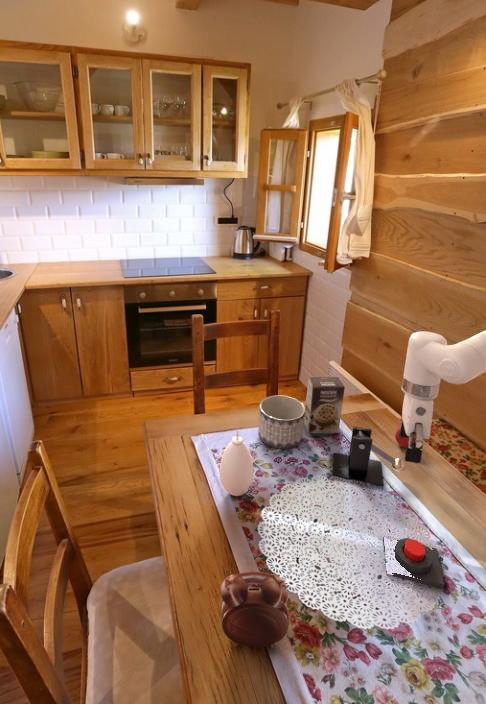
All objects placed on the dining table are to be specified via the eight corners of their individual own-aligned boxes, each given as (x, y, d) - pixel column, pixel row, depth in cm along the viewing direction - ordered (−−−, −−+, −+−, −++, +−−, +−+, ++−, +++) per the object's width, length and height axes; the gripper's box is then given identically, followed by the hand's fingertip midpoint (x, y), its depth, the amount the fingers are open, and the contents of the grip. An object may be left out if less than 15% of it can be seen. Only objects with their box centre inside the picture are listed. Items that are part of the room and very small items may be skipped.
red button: (422, 548, 81) (423, 541, 80) (425, 564, 77) (426, 557, 77) (402, 543, 82) (404, 537, 81) (404, 559, 78) (406, 552, 78)
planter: (292, 458, 109) (295, 425, 106) (250, 442, 115) (251, 411, 112) (308, 433, 119) (311, 403, 116) (269, 420, 126) (271, 391, 122)
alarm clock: (283, 623, 70) (289, 560, 64) (287, 654, 65) (293, 589, 60) (220, 620, 70) (221, 557, 65) (219, 651, 66) (220, 586, 60)
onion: (420, 451, 112) (425, 427, 109) (404, 456, 110) (409, 432, 107) (404, 439, 117) (409, 415, 114) (388, 443, 115) (393, 420, 112)
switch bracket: (380, 464, 107) (386, 427, 103) (382, 489, 99) (390, 449, 95) (333, 456, 110) (337, 419, 106) (331, 478, 102) (336, 439, 98)
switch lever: (399, 468, 103) (407, 461, 101) (400, 477, 100) (409, 469, 98) (352, 436, 103) (360, 428, 102) (352, 444, 100) (361, 436, 99)
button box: (435, 552, 83) (438, 541, 82) (443, 589, 75) (446, 578, 74) (382, 540, 85) (385, 529, 84) (386, 574, 78) (388, 563, 77)
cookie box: (308, 435, 118) (313, 387, 113) (303, 422, 124) (307, 376, 119) (339, 435, 119) (345, 387, 113) (332, 422, 125) (338, 375, 119)
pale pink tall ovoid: (258, 489, 99) (261, 426, 92) (241, 510, 93) (243, 444, 86) (231, 476, 103) (232, 415, 96) (213, 495, 97) (213, 432, 90)
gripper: (446, 407, 83) (433, 475, 89) (431, 371, 99) (420, 430, 105) (407, 402, 85) (396, 469, 91) (398, 367, 101) (389, 426, 107)
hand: (409, 448), depth 98 cm, fingers open, 9 cm apart
